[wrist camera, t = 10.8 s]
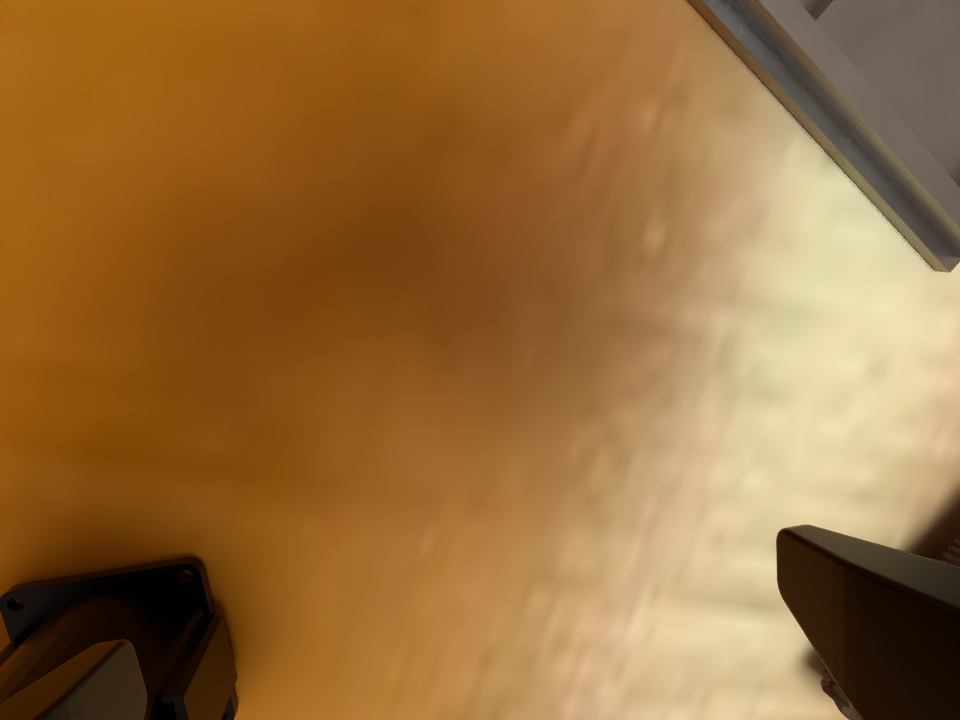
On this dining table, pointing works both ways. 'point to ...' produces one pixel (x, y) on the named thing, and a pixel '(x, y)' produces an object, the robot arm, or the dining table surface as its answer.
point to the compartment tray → (868, 97)
